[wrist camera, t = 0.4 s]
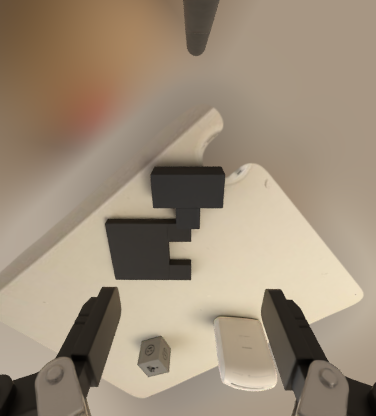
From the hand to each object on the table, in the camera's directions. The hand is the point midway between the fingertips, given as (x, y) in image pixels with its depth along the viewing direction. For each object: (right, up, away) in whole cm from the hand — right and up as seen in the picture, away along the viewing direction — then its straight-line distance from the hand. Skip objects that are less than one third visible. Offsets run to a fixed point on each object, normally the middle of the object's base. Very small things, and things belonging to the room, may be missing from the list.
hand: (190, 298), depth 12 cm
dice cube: (-8, -27, +40) cm, 49 cm away
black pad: (-7, -2, +28) cm, 29 cm away
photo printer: (+10, -20, +36) cm, 43 cm away
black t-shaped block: (0, +7, +23) cm, 24 cm away
